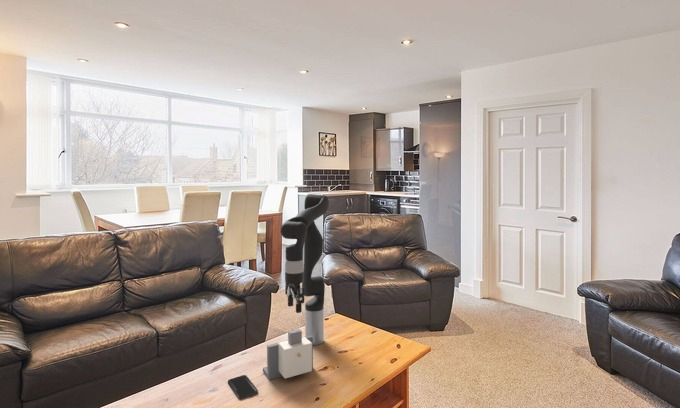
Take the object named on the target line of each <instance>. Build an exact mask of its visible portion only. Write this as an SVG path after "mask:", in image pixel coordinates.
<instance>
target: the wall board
mask: <svg viewBox="0 0 680 408" xmlns="http://www.w3.org/2000/svg"><path fill="white" fill-rule="evenodd" d="M304 337H306V338H307V339H308V340H309V341H310V342H311V343H312V369H313V368H314V357H313V356H314V351H313V350H314V345H313V337H312V336H311V335H309V336H305V335H304ZM284 341H285V340H283V341H282V342H284ZM286 341H288V339H287V340H286ZM280 342H281V341H280ZM280 342H274V343H271V344H267V345H266V349H267V350H266V358H267V359H266V360H267V361H266V366H265V367H262V372H263V373H264V375H265V376H266V378H267V379H268V380H269V381H271V380H273V379H274V380H275V379H278V378H281V377H283V376H282V375H281V373H280V372H279V366H278V343H280Z"/></svg>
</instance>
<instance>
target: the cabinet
mask: <svg viewBox="0 0 680 408" xmlns="http://www.w3.org/2000/svg"><path fill="white" fill-rule="evenodd" d="M302 334H303V332H302V330H301V329H300V328H297V329H294V330H288V331H287V340H288V341H287V340H283V341H284V342H283V341H280V343H279V342H277V343H278V366H279V372H280V373H281V375H282V377H283V378H284V379H288V378H293V377H295V376H298V375H302V374H303V375H304V374H306V373H309V372H312V371H313V368H312V343H311V342H310V341H309V340H308V339H307V338H306V337H305V336H303V335H302Z"/></svg>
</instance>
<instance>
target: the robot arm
mask: <svg viewBox="0 0 680 408" xmlns="http://www.w3.org/2000/svg"><path fill="white" fill-rule="evenodd" d="M329 204H330V200H329V197H328V196H326V195H324V194H315V193H308V194H306V196H305V199H304V209H302V210H301V211H300V212H298V213H297V215H295V216H294V217H291V218H288V219H287V220H285V221H284V222H283V223H282V225H281V226H280V235H281V236H282V237H283V238H284V239H287V240H296V242H295V243H293V244H288V245H286V246H285V261H284V262H285V264H284V282H285V286H284V287H285V290H284V291H285V293H284V294H285V296H286V298H287V307H289V308H290V307H293V306H294V302H295V313H297V314H301V313H302V311H303V310H302V304H305V305H304V309H305V310H304V314H305V316H304V317H305V322H304V324H305V326H304V327H305V328H304V329H305V330H304V331H305V333H304V334H305V335H304V337H305V336H309V335H311V336H312V337H313V346H317V345H321V344H323V343H324V337H325V336H324V335H325V334H324V329H325V327H324V321H325V320H324V318H325V316H324V310H325V309H324V305H325V291H326V290H325V286H326V285H325V279H324V278H323V276H313V275H312V274H313V271H314V268H315V267H316V265H317V264H318V262H319V261H320V259H321V257H322V255H323V253H324V251H323V250H324V238H323V236H322V234H321V232H320V230H319V229H318V227H317V225H316V223H315V221H316V220H317V219H319V218H320V217H322V216H323V215H325V214H326V213H327V212H328V210H329V206H330V205H329ZM305 297H312V298H311V299H310V300H307V301H306V302H305Z"/></svg>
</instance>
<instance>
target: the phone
mask: <svg viewBox="0 0 680 408" xmlns="http://www.w3.org/2000/svg"><path fill="white" fill-rule="evenodd" d="M227 384H228V385H229V387H230V388H231V390H232V392H233V393H234V395H235V396H236V397H237V399H238V400H245V399H248V398H250V397H253V396H256V395H258V394H259V390H258V388H257V387H256V386H255V384H254V383H253V382H252V381H251V380H250V378H249V377H248V375H246V374H242V375H239V376H236V377H233V378H229V379H227Z"/></svg>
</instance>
